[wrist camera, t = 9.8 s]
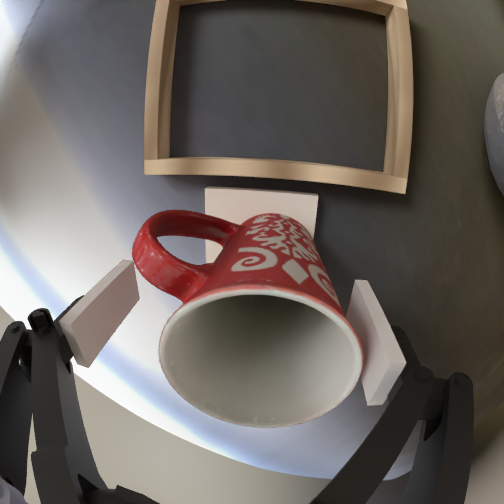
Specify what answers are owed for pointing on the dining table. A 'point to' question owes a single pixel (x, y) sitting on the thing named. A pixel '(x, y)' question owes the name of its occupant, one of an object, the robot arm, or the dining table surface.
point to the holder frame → (160, 163)
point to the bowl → (495, 131)
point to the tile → (257, 208)
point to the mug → (251, 320)
